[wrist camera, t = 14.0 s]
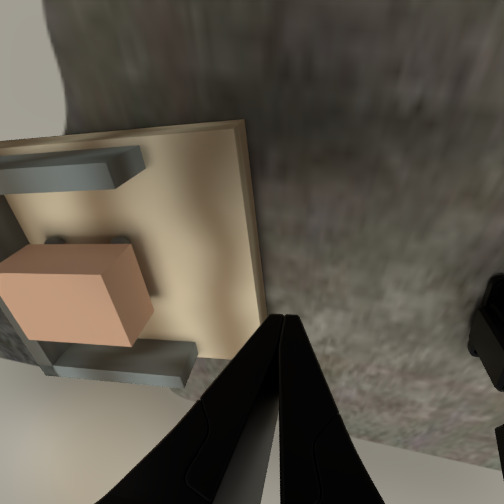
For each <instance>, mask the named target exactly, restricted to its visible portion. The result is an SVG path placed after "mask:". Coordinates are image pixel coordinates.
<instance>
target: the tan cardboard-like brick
mask: <svg viewBox="0 0 504 504" xmlns="http://www.w3.org/2000/svg"><path fill="white" fill-rule="evenodd" d="M0 296H1V298H2V299H3V301H4V302H5V304H6V305H7V307H8V309H9V310H10V312H11V313H12V315H13V316H14V318H15V319H16V321H17V322H18V324H19V325H20V327H21V328H22V330H23V332H24V333H25V335H26V336H27V338H28V339H29V340H40V341H54V342H68V343H82V344H96V345H111V346H125V347H132V346H133V344H134V343H135V341H136V339H137V338H138V336H139V335H140V333H141V332H142V330H143V328H144V327H145V325H146V324H147V322H148V321H149V319H150V318H151V316H152V314H153V313H154V308H153V305H152V302H151V299H150V296H149V294H148V291H147V288H146V285H145V282H144V279H143V276H142V274H141V271H140V268H139V265H138V262H137V259H136V256H135V254H134V251H133V248H132V245H131V242H130V241H129V239H127V238H126V237H124V236H117V237H115V238H113V239H112V240H111V242H110V244H65V242H64V240H63V239H61V238H59V237H50V238H48V239H47V240H46V241H45V242H44V244H28V245H26V246H25V247H23V248H22V249H20V250H19V251H17V252H16V253H14V254H13V255H11V256H10V257H8V258H7V259H5V260H4V261H2V262H1V263H0Z"/></svg>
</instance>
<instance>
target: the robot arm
mask: <svg viewBox="0 0 504 504" xmlns="http://www.w3.org/2000/svg"><path fill="white" fill-rule="evenodd" d="M500 283H503V284H502V285H498V284H500ZM497 285H498V286H497ZM469 338H470V342H469V345H468V350H469V352H470V354H471V355H472V356H475V357H479V358H480V360H481V361H482V363H483V365H484V367H485V369H486V371H487V373H488V375H489V377H490V379H491V381H492V383H493V385H494V387H495V388H496V389H497V390H498V391H500V392H504V275H499V276H495V277H493V278H492V279H491V280H490V281H489V284H488V287H487V290H486V293H485V296H484V299H483V302H482V305H481V306H480V307H479V308H478V310H477V313H476V316H475V319H474V322H473V325H472V328H471V331H470V334H469ZM278 411H279V440H280V441H279V442H280V504H385V503H384V501H383V500H382V497H381V496H380V494H379V492H378V490H377V489H376V487H375V485H374V483H373V481H372V480H371V478H370V476H369V474H368V472H367V471H366V469H365V467H364V465H363V463H362V461H361V459H360V457H359V455H358V454H357V451H356V449H355V447H354V445H353V443H352V441H351V438H350V436H349V434H348V432H347V430H346V427H345V425H344V422H343V420H342V418H341V415H340V414H339V411H338V408H337V406H336V404H335V401H334V399H333V396H332V394H331V392H330V389H329V387H328V384H327V382H326V379H325V377H324V375H323V372H322V370H321V367H320V365H319V363H318V360H317V358H316V355H315V353H314V351H313V348H312V346H311V343H310V341H309V338H308V336H307V334H306V331H305V329H304V326H303V324H302V322H301V319H300V317H299V316H298V315H291V314H286V315H285V316H284V315H283V314H270V315H268V317H267V318H266V319H265V320H264V321H263V323H262V324H261V325H260V326H259V327H258V329H257V330H256V331H255V332H254V333H253V335H252V336H251V337H250V338H249V339H248V341H247V342H246V343H245V344H244V345H243V347H242V348H241V349H240V350H239V351H238V353H237V354H236V355H235V356H234V357H233V359H232V360H231V361H230V362H229V363H228V365H227V366H226V367H225V368H224V369H223V371H222V372H221V373H220V374H219V375H218V377H217V378H216V379H215V380H214V381H213V383H212V384H211V385H210V386H209V387H208V389H207V390H206V391H205V392H204V393H203V395H202V396H201V397H200V400H197V402H196V403H195V404H194V405H193V406H192V408H191V409H190V410H189V411H188V412H187V414H186V415H185V416H184V417H183V418H182V419H181V420H180V421H179V423H178V424H177V425H176V426H175V427H174V428H173V429H172V430H171V431H170V432H169V433H168V434H167V435H166V436H165V437H164V438H163V439H162V440H161V441H160V442H159V443H158V445H156V447H154V448H153V449H152V451H151V452H149V453H148V454H147V455H146V456H145V457H144V458H143V459H142V460H141V461H140V462H139V463H138V464H137V465H136V466H135V467H134V468H133V469H132V470H131V471H130V472H129V473H128V474H127V475H126V476H125V477H124V478H123V479H122V480H121V481H120V482H119V483H118V484H117V485H116V486H115V487H114V488H113V489H111V490H110V491H109V492H108V493H107V494H106V495H105V496H104V497H102V498H101V499H100V500H99V501H97V502H96V503H95V504H260V503H261V498H262V493H263V488H264V482H265V478H266V473H267V468H268V462H269V457H270V452H271V447H272V442H273V437H274V432H275V427H276V422H277V417H278ZM495 434H496V440H497V445H498V451H499V457H500V462H501V468H502V474H503V479H504V424H503V425H501V426H499V427H497V428H495Z"/></svg>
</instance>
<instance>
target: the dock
mask: <svg viewBox="0 0 504 504" xmlns="http://www.w3.org/2000/svg"><path fill="white" fill-rule="evenodd" d="M117 236H124V237H126V238H127V239H129V241H130V242H131V245H132V248H133V251H134V254H135V256H136V259H137V262H138V265H139V268H140V271H141V274H142V276H143V279H144V282H145V285H146V288H147V291H148V294H149V296H150V299H151V302H152V305H153V308H154V313H153V314H152V316H151V318H150V319H149V321H148V322H147V324H146V325H145V327H144V328H143V330H142V332H141V333H140V335H139V336H138V338H137V339H136V341H135V343H134V344H133V346H132V347H125V346H111V345H96V344H82V343H68V342H54V341H40V340H29V339H28V338H27V336H26V335H25V333H24V332H23V330H22V328H21V327H20V325H19V324H18V322H17V321H16V319H15V318H14V316H13V315H12V313H11V312H10V310H9V309H8V307H7V305H6V304H5V302H4V301H3V299H2V298H1V296H0V308H1V309H2V311H3V312H4V314H5V315H6V317H7V318H8V320H9V321H10V323H11V324H12V326H13V327H14V329H15V330H16V332H17V333H18V335H19V336H20V338H21V339H22V341H23V342H24V344H25V345H26V347H27V348H28V350H29V351H30V353H31V354H32V356H33V357H34V359H35V360H36V362H37V363H38V365H39V366H40V368H41V369H42V371H43V372H44V373H45V375H48V376H58V377H68V378H79V379H89V380H100V381H111V382H120V383H131V384H142V385H152V386H162V387H172V388H183V389H184V388H185V385H186V383H187V380H188V378H189V375H190V373H191V370H192V368H193V366H194V363H195V361H196V358H197V357H206V358H219V359H233V357H234V356H235V355H236V354H237V353H238V351H239V350H240V349H241V348H242V347H243V345H244V344H245V343H246V342H247V341H248V339H249V338H250V337H251V336H252V335H253V333H254V332H255V331H256V330H257V329H258V327H259V326H260V325H261V324H262V323H263V321H264V320H265V319H266V318H267V308H266V300H265V291H264V282H263V274H262V265H261V257H260V248H259V239H258V231H257V222H256V214H255V205H254V196H253V188H252V179H251V171H250V162H249V153H248V145H247V136H246V128H245V119H239V120H228V121H217V122H206V123H195V124H184V125H173V126H162V127H151V128H140V129H129V130H118V131H107V132H96V133H85V134H74V135H63V136H53V137H41V138H31V139H19V140H9V141H0V263H1V262H2V261H4V260H5V259H7V258H8V257H10V256H11V255H13V254H14V253H16V252H17V251H19V250H20V249H22V248H23V247H25V246H26V245H28V244H44V242H45V241H46V240H47V239H48V238H50V237H59V238H61V239H63V240H64V242H65V244H110V242H111V240H112V239H113V238H115V237H117Z"/></svg>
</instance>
